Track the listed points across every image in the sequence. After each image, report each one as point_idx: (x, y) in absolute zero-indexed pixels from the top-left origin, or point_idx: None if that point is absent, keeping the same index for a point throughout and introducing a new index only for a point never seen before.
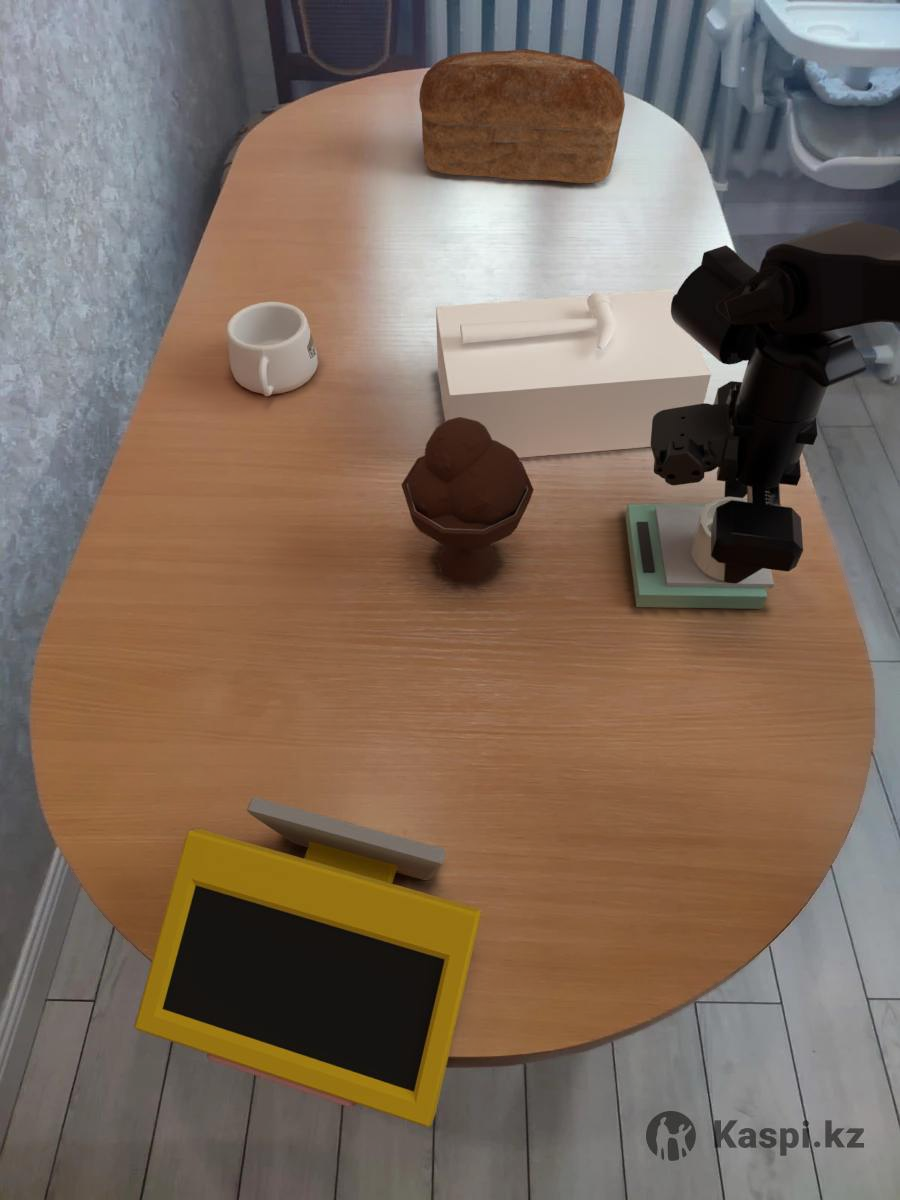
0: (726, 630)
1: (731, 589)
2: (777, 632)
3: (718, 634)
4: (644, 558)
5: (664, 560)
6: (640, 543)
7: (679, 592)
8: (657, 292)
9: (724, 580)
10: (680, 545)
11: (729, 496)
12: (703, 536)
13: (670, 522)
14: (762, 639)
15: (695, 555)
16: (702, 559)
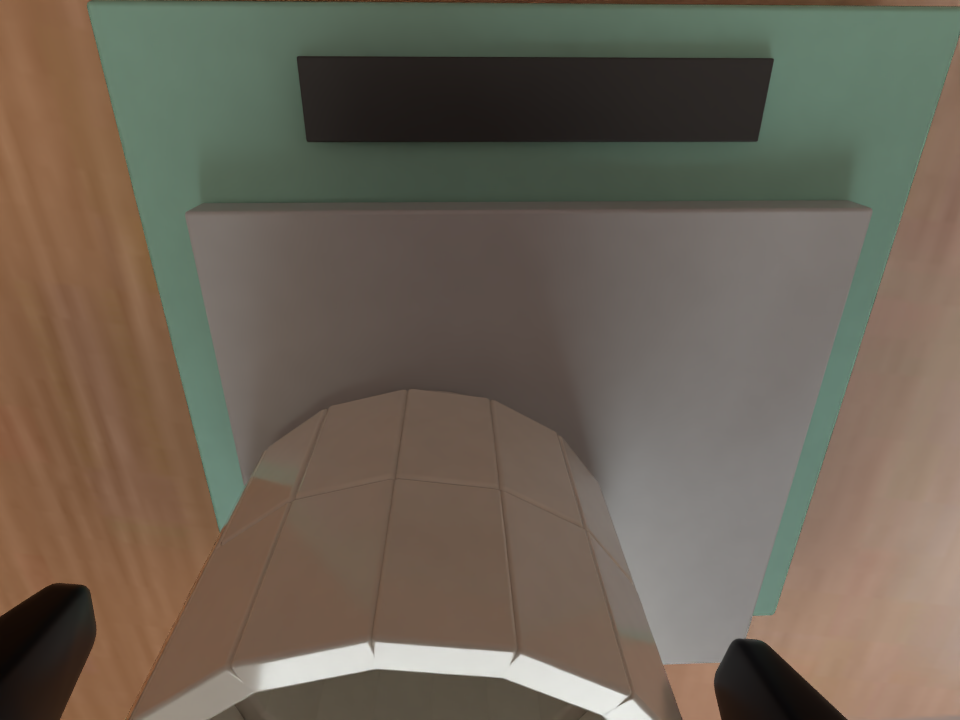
0: (125, 440)
1: None
2: (168, 594)
3: (93, 409)
4: (415, 76)
5: (377, 215)
6: (562, 62)
7: (172, 279)
8: None
9: (36, 594)
10: (513, 328)
11: (762, 713)
12: (270, 597)
13: (709, 290)
14: (119, 549)
15: (353, 421)
16: (283, 468)
